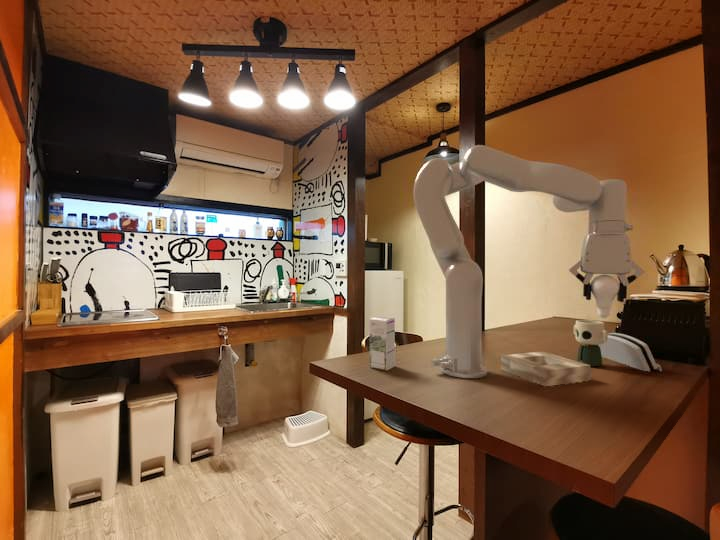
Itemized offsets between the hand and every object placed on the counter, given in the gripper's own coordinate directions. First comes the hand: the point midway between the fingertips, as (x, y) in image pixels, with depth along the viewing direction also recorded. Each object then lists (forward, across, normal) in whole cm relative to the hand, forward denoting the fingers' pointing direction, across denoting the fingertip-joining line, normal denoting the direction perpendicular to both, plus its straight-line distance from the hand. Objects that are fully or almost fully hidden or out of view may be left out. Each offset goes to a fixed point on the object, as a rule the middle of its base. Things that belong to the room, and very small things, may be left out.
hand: (604, 299), depth 84 cm
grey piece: (+21, -9, -23) cm, 33 cm away
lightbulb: (+5, 0, 0) cm, 5 cm away
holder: (+21, +13, +1) cm, 25 cm away
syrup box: (+23, +55, +14) cm, 61 cm away
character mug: (+21, 0, -16) cm, 26 cm away
